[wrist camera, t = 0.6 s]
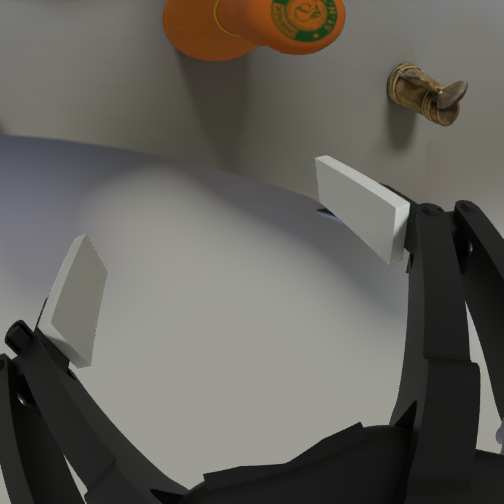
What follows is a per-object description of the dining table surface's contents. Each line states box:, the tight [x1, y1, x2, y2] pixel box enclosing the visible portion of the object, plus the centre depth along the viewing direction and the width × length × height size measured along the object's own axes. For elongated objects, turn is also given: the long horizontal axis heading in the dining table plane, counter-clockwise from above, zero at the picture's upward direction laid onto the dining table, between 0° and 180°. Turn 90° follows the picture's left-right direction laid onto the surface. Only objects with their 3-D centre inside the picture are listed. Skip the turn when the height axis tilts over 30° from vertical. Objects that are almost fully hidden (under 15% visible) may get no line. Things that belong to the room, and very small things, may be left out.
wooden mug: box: [387, 63, 468, 126], centre depth 29 cm, size 9×14×18 cm, turn 56°
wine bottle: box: [163, 0, 346, 62], centre depth 15 cm, size 10×10×30 cm
